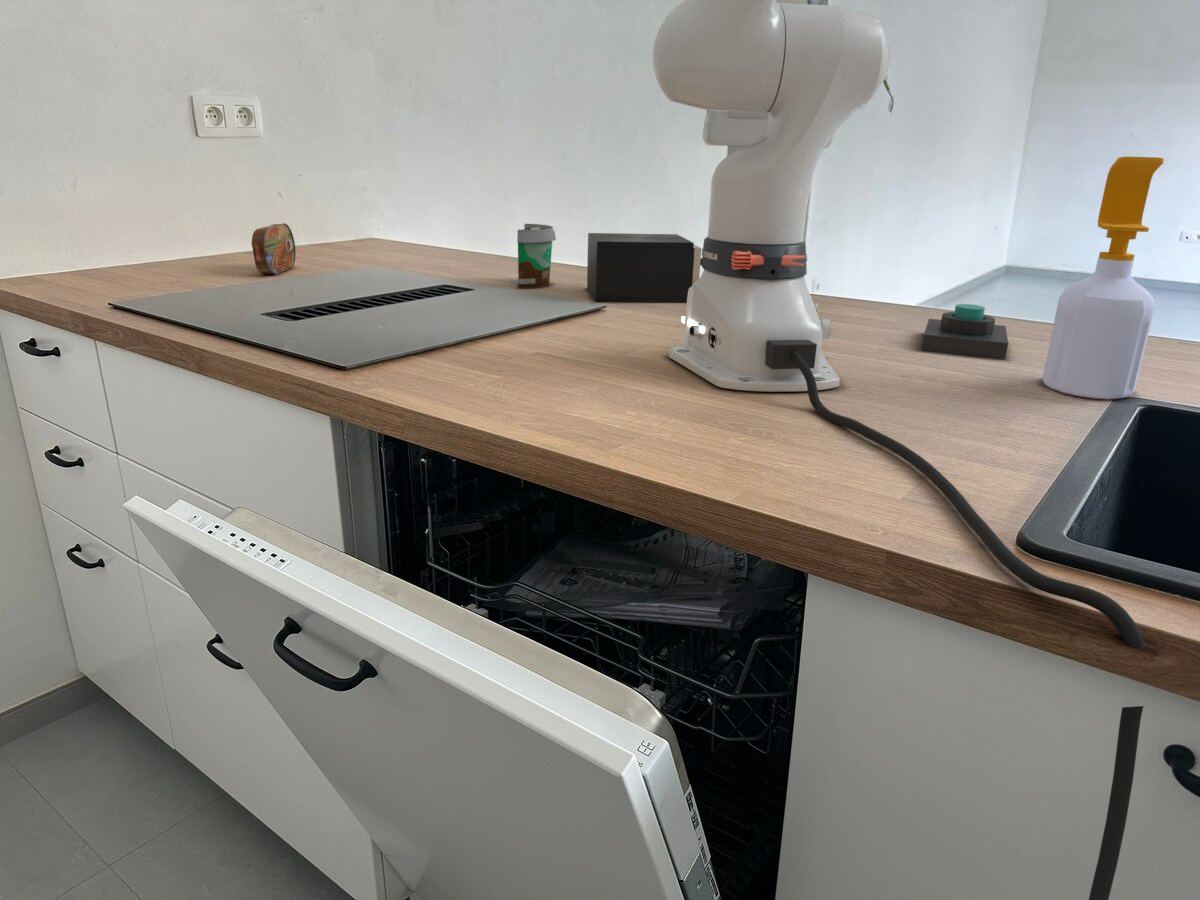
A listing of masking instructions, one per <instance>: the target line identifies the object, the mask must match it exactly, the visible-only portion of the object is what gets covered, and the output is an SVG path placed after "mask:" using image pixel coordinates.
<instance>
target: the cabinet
mask: <svg viewBox="0 0 1200 900" xmlns="http://www.w3.org/2000/svg"><path fill="white" fill-rule="evenodd" d="M694 245H695V243H694V242H693V241H691V240H690V239H688V238H686V237H683V236H681V235H679V234H677V233H621V232H620V233H617V232H615V233H613V232H609V233H608V232H588V233H587V269H586V271H587V272H586V273H587V274H586V290H587V291H588V293H589V294H590V295H591V297H592V299H593V300H594V302H596V303H687V296H688V290H689V288H690V287H691V278H692V262H693V246H694Z"/></svg>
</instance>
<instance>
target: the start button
mask: <svg viewBox="0 0 1200 900" xmlns="http://www.w3.org/2000/svg"><path fill="white" fill-rule="evenodd" d="M985 310H986V307H985V306H982V305H978V304H970V303H958V304H955V307H954V311H953V312H954V317H956V318H961V319H969V320H983V316H984V315H985Z"/></svg>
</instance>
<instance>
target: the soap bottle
mask: <svg viewBox="0 0 1200 900" xmlns="http://www.w3.org/2000/svg"><path fill="white" fill-rule="evenodd" d="M1164 162H1165V160H1164V158H1163V157H1160V156H1159V157H1155V156H1152V157H1151V156H1121V157H1117V159H1116V160H1115V161H1114V162H1113V164H1112V165H1111V166H1110V168H1109V169H1108V173H1107V176H1106V179H1105V185H1104V190H1103V194H1102V199H1101V203H1100V208H1099V213H1098V216H1097V217H1098V218H1097V227H1098V228H1100V229H1102V230H1106V236H1105V238H1107V239H1110V244H1109V248H1108V251H1100V252H1099V254H1098V257H1097V261H1096V266H1095V270H1094V272H1093V273H1092V274H1091V275H1089V276H1087V277H1085V278H1083V279H1081V280H1079V281H1076V282H1074V283H1073V284H1071V285H1069V286H1068V287H1066V288H1065V289H1064V290H1063V291H1062V292H1061V295H1060V296H1059V297H1058V301H1057V306H1056V311H1055V316H1054V321H1053V324H1052V330H1051V335H1050V340H1049V344H1048V349H1047V353H1046V358H1045V359H1046V360H1045V364H1044V367H1043V373H1042V382H1043V384H1044V386H1046V387H1048V388H1050V389H1051V390H1053V391H1057V392H1060V393H1062V394H1065V395H1070V396H1075V397H1078V398H1079V397H1080V398H1086V399H1092V400H1094V399H1095V400H1119V399H1120V400H1121V399H1126V398H1129V397H1131V396H1132V395H1133V394H1134V393H1135V391H1136V387H1137V383H1138V379H1139V375H1140V371H1141V366H1142V362H1143V359H1144V354H1145V351H1146V348H1147V347H1146V346H1147V342H1148V338H1149V334H1150V330H1151V327H1152V322H1153V318H1154V314H1155V311H1156V310H1155V309H1156V304H1155V299H1154V297H1153V296H1152V294H1151V293H1150V292H1149V291H1148V290H1147V289H1146V288H1145V287H1144V286H1143V285H1141V284H1139V283H1138V282H1137V281H1136V280H1135V279H1134V278H1133V277H1132V270H1133V267H1134V263H1135V256H1136V255H1135V254H1133V253H1129V252H1127V251H1128V248H1129V243H1130V240H1132V241H1133V240H1136V239H1137V234H1138V233H1139V232H1140V233H1148V232H1149V231H1150V227H1148V226H1145V225H1143V216H1144V211H1145V207H1146V203H1147V199H1148V195H1149V190H1150V186H1151V182H1152V179H1153V177H1154V174H1155V173H1156V171H1157V170H1158V169H1160V167H1161V166H1162V165H1163V164H1164Z"/></svg>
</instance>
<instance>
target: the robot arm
mask: <svg viewBox="0 0 1200 900" xmlns="http://www.w3.org/2000/svg"><path fill="white" fill-rule="evenodd" d="M889 64H890V44H889V39H888V35H887V33H886V30H885V28H884V26H883V24H882V22H881V21H880V20H879V18H878V17H877V16H874V15H872V14H869V13H865V12H862V11H860V10H856V9H852V8H848V7H845V6H840V5H836V4H835V5H834V4H831V5H830V4H824V0H684V1H682V2H681V3H679V4H678V5H676V6H675V7H674V8H673V9H672V10H671V11H670V12H669V13H668V15H667V16H666V17H665V19H664V20H663V21H662V23H661V25H660V26H659V29H658V31H657V33H656V35H655V39H654V42H653V48H652V68H653V72H654V76H655V80H656V82H657V84H658V86H659V89H660V90H661V92H662V93H663V94H664V96H665V97H666V98H667V100H669V101H670V102H672V103H676V104H679V105H683V106H687V107H690V108H695V109H699V110H704V111H706V113H705V117H704V121H703V128H702V140H703V142H704V143H705V145H706V146H719V147H720V146H722V147H724V146H725V147H740V148H739V149H737V150H735V151H733V152H731V153H729V154H728V155H726V156H725V157H724V158H723V159H722V160H721V161H720V162H719V163H718V164H717V166H716V167H715V169H714V171H713V174H712V177H711V181H710V182H711V183H710V195H709V210H708V212H709V213H708V227H707V236H706V237H705V238H704V239H703V244H702V245H703V246H702V248H701V258H702V265H701V268H702V269H703V271H702V272H701V274H700V275H701V276H700V277H699V280H698V281H697V282H696V283H695V284H693V285H692V287H690V288H689V290H688V296H687V302H686V305H685V315H684V316H683V315H682V316H681V323H683V332H682V341H681V345H677V346H673V347H670V348H669V353H668V358H670V359H671V360H673V361H675V362H676V363H678V364H680V365H681V366H683V367H685V368H686V369H688V370H690V371H691V372H693V373H694V374H696V375H697V376H699V377H701V378H702V379H704V380H706V381H707V382H709V383H710V384H712V385H714V386H716V387H718V388H722V389H730V390H735V391H748V392H807V394H808V399H809V402H810V404H811V406H812V409H814V410H815V412H816V413H817V414H818V415H819V416H820V417H821V418H823V419H825V420H827V421H829V422H831V423H832V424H836V425H838V426H842V427H845V428H847V429H849V430H852V431H853V432H855V433H857V434H859V435H861V436H862V437H864V438H866V439H868V440H870V441H872V442H874V443H877V444H878V445H880V446H882V447H884V448H886V449H887V450H889V451H890V452H892V453H894V454H896V455H897V456H899V457H900V458H902V459H903V460H904V461H906V462H908V463H909V464H910V465H912V466H913V467H915V468H916V469H917V470H919V472H920V473H921V474H923V475H924V476H925V477H926V478H927V479H928V480H929V481H931V482H932V484H933V485H935V487H936V488H937V489H938V490H940V491H941V493H942V494H943V495H944V496H945V497H946V498H947V500H949V502H950V503H951V504H952V506H953V507H954V508H955V509H956V511H957V512H958V513H959V515H960V516H961V517H962V519H963V521H965V522H966V523H967V525H968V526H969V527H970V528H971V530H972V531H973V532H974V533H975V534H976V535H977V536H978V537H979V539H980V540H981V541H982V542H983V544H984V545H985V546H986V547H987V549H988V550H989V551H990V553H992V555H993V556H994V557H995V558H996V559H997V560H998V561H999V562H1000V563H1001V565H1003V566H1004V567H1005V568H1006V569H1007V570H1008V571H1009V572H1010V573H1012V574H1013V575H1015V576H1016V577H1017V578H1019V579H1020V580H1021V581H1022V582H1024V583H1025V584H1027V585H1029V586H1031V587H1033V588H1034V589H1036V590H1039V591H1041V592H1044V593H1047V594H1050V595H1053V596H1057V597H1060V598H1064V599H1068V600H1072V601H1076V602H1078V603H1081V604H1084V605H1087V606H1089V607H1091V608H1093V609H1094V610H1097V611H1098V612H1100V613H1101V614H1103V615H1104V616H1105V617H1107V618H1108V619H1109V621H1110V622H1111V623H1112V624H1113V625H1114V627H1115V628H1116V629H1117V632H1118V633H1119V635H1120V637H1121V639H1122V641H1123V642H1124V643H1125V644H1127V645H1129V646H1131V648H1135V649H1138V650H1145V649H1146V647H1147V645H1146V643H1145V640H1144V637H1143V634H1142V632H1141V629H1139V627H1138V626H1137V624H1136V622H1135V620H1134V619H1133V618H1132V617H1131V615H1130V614H1129V613H1128V612H1127V610H1126V609H1124V607H1122V606H1121V605H1120V604H1119V603H1118V602H1116V601H1115V600H1114V599H1112V598H1111V597H1109V596H1107V595H1106V594H1104V593H1102V592H1100V591H1097V590H1095V589H1092V588H1089V587H1086V586H1083V585H1079V584H1075V583H1071V582H1067V581H1064V580H1059V579H1057V578H1053V577H1051V576H1047V575H1045V574H1043V573H1040V572H1039V571H1037V570H1036V569H1034V568H1033V567H1031V566H1030V565H1028V564H1027V563H1026V562H1024V561H1023V560H1022V559H1020V558H1019V557H1018V556H1016V554H1015V553H1014V552H1012V551H1011V550H1010V549H1009V548H1008V547H1007V546H1006V545H1005V543H1004V542H1003V541H1002V540H1001V539H1000V538H999V536H998V535H997V534H996V533H995V531H994V530H992V528H991V527H990V526H989V525H988V524H987V523H986V522H985V520H984V519H982V517H981V516H980V515H979V514H978V513H977V512H976V511H975V509H974V508H973V507H972V505H970V503H969V502H968V501H967V499H966V498H965V497H964V495H962V493H961V492H960V491H959V490H958V489H957V487H955V486H954V485H953V484H952V482H951V481H949V480H948V479H947V478H946V477H945V476H944V475H943V474H942V473H941V472H940V471H939V470H938V469H937V468H936V467H934V466H933V465H932V464H931V463H929V462H928V461H927V460H926V459H924V458H923V457H922V456H921V455H919V454H918V453H916V452H915V451H914V450H912V449H910V448H909V447H907V446H906V445H904V444H902V443H901V442H899V441H897V440H896V439H893V438H891V437H889V436H887V435H885V434H884V433H882V432H880V431H877V430H875V429H873V428H871V427H869V426H868V425H865V424H864V423H861V422H860V421H857V420H856V419H853V418H851V417H848V416H844V415H841V414H838V413H835V412H832V411H831V410H830V409H828V408H827V407H826V406H825V405H824V404H823V403H822V401H821V400H820V397H819V392H818V391H823V390H831V389H835V388H838V387H840V384H841V378H840V376H839V375H838V374H837V372H836V371H835V370H834V367H832V365H831V363H830V362H829V361H828V360H827V358H826V357H825V355H824V354H823V352H822V345H823V340H828V339H829V338H830V335H831V329H832V325H831V324H832V323H831V320H830V319H828V318H819V315H818V314H819V303H814V302H813V298H812V295H811V294H810V293H811V292H810V291H809V289H808V286H807V282H806V279H805V276H806V275H807V274H808V270H807V269H808V268H807V266H808V265H807V262H808V254H807V244H806V242H805V241H804V233H805V224H806V217H807V216H806V215H807V209H808V203H809V198H810V197H809V196H810V192H811V187H812V181H813V177H814V174H815V171H816V168H817V165H818V162H819V160H820V158H821V156H822V154H823V151H824V150H825V149H828V148H829V147H830V146H831V144H832V143H833V140H834V135H835V134H836V132H837V131H838V130H839V128H840V127H841V126H842V125H843V124H844V123H845V122H846V121H847V120H849V118H851V117H852V116H853V115H854V114H855V113H857V112H858V111H859V110H861V109H862V108H864V107H865V106H866V105H867V104H869V102H870V101H872V99H873V98H874V97H875V96H876V95H877V94H878V91H879V90H880V89H881V87H882V85H883V83H884V81H885V79H886V75H887V73H888V69H889ZM1121 708H1122V709H1121V713H1120V717H1119V718H1120V719H1119V726H1118V734H1117V744H1116V751H1115V760H1114V768H1113V776H1112V782H1111V787H1110V795H1109V800H1108V807H1107V812H1106V819H1105V824H1104V829H1103V833H1102V839H1101V843H1100V849H1099V854H1098V858H1097V863H1096V867H1095V871H1094V875H1093V879H1092V885H1091V888H1090V892H1089V895H1088V896H1089V897H1088V900H1109V899H1110V895H1111V892H1112V888H1113V887H1112V886H1113V883H1114V879H1115V875H1116V871H1117V867H1118V862H1119V859H1120V858H1119V857H1120V852H1121V848H1122V844H1123V838H1124V833H1125V830H1126V824H1127V819H1128V811H1129V807H1130V801H1131V794H1132V788H1133V783H1134V775H1135V767H1136V760H1137V759H1136V758H1137V750H1138V744H1139V743H1138V742H1139V734H1140V727H1141V720H1142V715H1143V710H1144V705H1137V706H1124V707H1123V706H1122V707H1121Z"/></svg>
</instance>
